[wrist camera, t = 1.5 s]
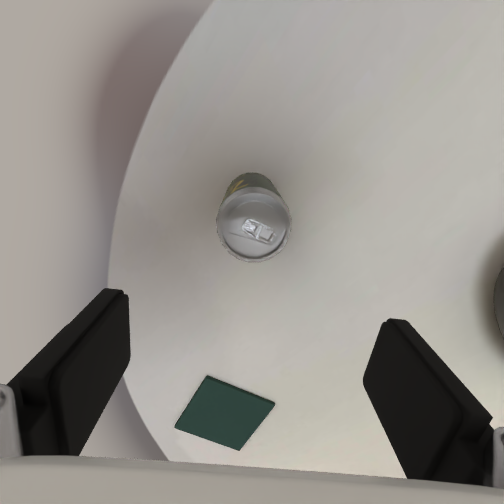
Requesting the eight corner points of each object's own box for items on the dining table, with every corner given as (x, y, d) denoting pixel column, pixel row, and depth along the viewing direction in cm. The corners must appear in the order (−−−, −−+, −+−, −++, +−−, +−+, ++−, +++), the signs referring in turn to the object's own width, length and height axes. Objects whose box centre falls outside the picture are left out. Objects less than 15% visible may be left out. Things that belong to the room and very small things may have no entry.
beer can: (285, 186, 30) (308, 211, 19) (261, 229, 32) (270, 277, 20) (239, 162, 29) (235, 174, 18) (218, 208, 31) (201, 246, 19)
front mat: (175, 425, 42) (174, 428, 42) (206, 375, 39) (206, 377, 39) (239, 447, 44) (239, 451, 44) (274, 402, 41) (275, 405, 41)
